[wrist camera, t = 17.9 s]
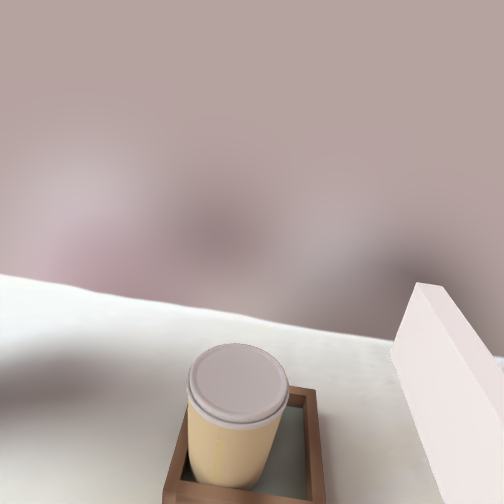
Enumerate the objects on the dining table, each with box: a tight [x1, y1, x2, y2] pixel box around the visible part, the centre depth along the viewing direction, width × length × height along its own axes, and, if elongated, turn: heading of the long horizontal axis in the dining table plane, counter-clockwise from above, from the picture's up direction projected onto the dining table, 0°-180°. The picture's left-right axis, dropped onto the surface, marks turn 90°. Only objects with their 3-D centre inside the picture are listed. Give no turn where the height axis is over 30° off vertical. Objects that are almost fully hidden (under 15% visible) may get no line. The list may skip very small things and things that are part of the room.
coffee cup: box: [186, 343, 289, 491], centre depth 36 cm, size 9×9×12 cm
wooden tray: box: [162, 386, 326, 504], centre depth 41 cm, size 15×15×6 cm
